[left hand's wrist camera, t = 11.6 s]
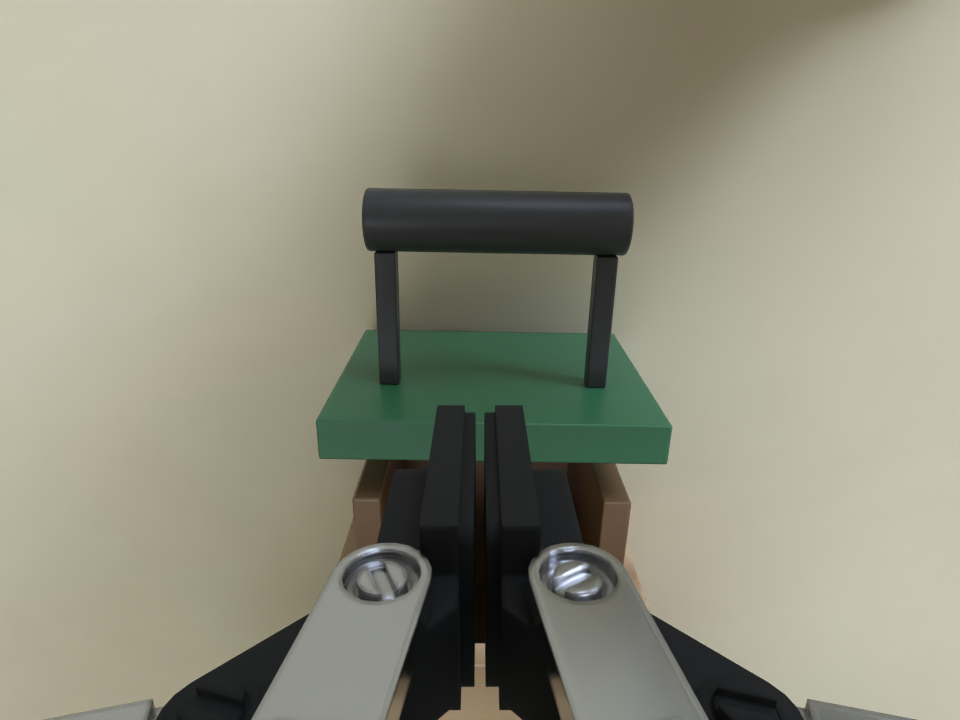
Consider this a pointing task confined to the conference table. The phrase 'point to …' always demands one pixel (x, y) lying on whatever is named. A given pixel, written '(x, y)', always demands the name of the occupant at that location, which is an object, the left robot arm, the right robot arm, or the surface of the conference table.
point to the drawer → (497, 362)
